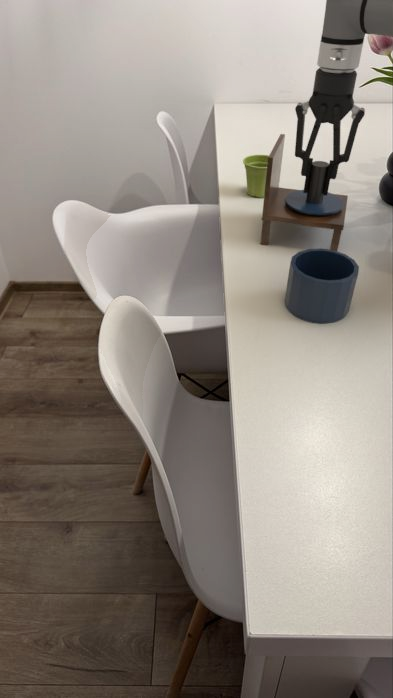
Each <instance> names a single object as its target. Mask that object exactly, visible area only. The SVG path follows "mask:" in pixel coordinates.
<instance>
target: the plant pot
mask: <svg viewBox="0 0 393 698" xmlns="http://www.w3.org/2000/svg"><path fill="white" fill-rule="evenodd" d="M269 155H270V154H252V155H248V156H245V157H243V160H242V163H243V165H244V169H245V176H246V177H245V178H246V190H247V194H248V196H250V197H256V198H259V199H260V198H264V194H265V184H266V174H267V164H268V157H269Z"/></svg>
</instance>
